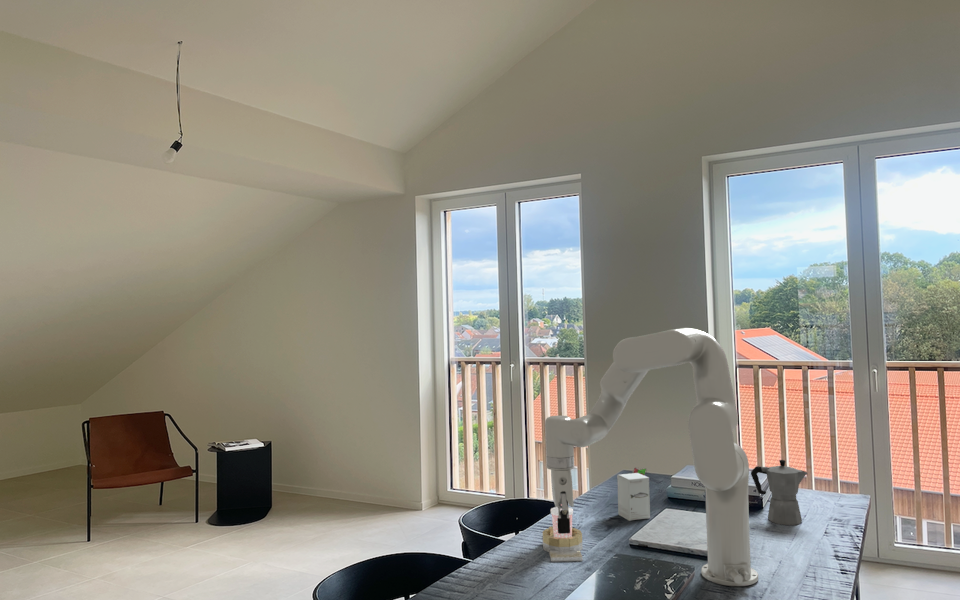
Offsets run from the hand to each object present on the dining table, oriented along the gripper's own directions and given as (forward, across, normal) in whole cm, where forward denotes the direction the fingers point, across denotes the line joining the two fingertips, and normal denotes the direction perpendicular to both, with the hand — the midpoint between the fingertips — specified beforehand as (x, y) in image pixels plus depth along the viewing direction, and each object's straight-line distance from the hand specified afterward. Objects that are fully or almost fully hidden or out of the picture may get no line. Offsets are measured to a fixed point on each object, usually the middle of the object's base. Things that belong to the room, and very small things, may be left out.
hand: (562, 528), depth 178 cm
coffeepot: (+6, +19, -67) cm, 70 cm away
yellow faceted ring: (+5, +2, 0) cm, 6 cm away
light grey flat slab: (+5, -2, 0) cm, 6 cm away
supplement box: (+5, +26, -25) cm, 36 cm away
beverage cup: (+4, 0, 0) cm, 4 cm away
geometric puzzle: (+5, +62, -35) cm, 71 cm away
